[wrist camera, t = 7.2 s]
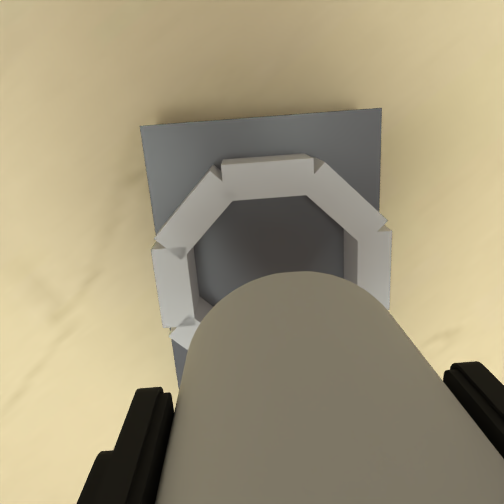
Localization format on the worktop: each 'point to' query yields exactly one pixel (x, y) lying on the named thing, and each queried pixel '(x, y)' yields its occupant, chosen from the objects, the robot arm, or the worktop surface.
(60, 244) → the worktop surface
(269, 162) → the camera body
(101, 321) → the worktop surface
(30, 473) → the worktop surface
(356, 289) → the beverage can
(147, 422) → the robot arm
